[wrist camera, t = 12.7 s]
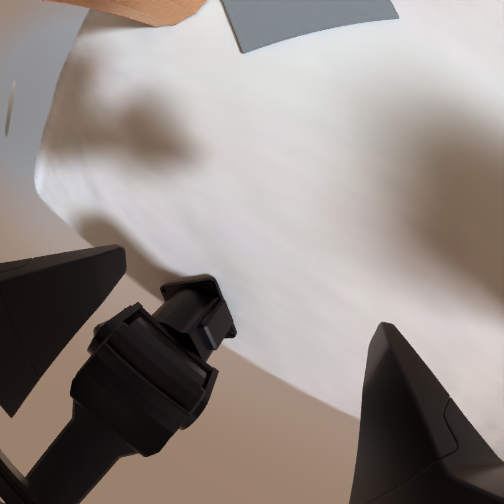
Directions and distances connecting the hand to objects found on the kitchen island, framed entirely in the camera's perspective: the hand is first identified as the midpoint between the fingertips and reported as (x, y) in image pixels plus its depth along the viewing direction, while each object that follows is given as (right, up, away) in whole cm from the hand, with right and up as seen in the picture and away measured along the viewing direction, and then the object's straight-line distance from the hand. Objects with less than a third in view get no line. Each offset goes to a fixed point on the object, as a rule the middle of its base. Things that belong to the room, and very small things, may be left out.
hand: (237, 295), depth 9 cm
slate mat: (+4, +21, +4) cm, 22 cm away
